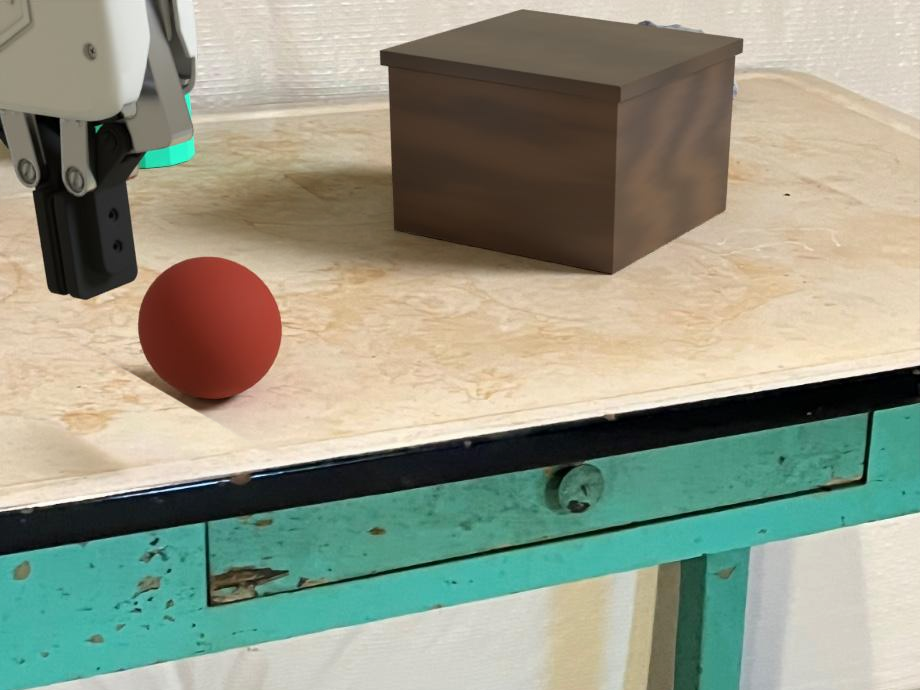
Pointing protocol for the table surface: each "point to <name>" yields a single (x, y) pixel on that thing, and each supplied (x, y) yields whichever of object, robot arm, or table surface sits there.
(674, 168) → the box
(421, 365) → the table surface
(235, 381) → the ball
